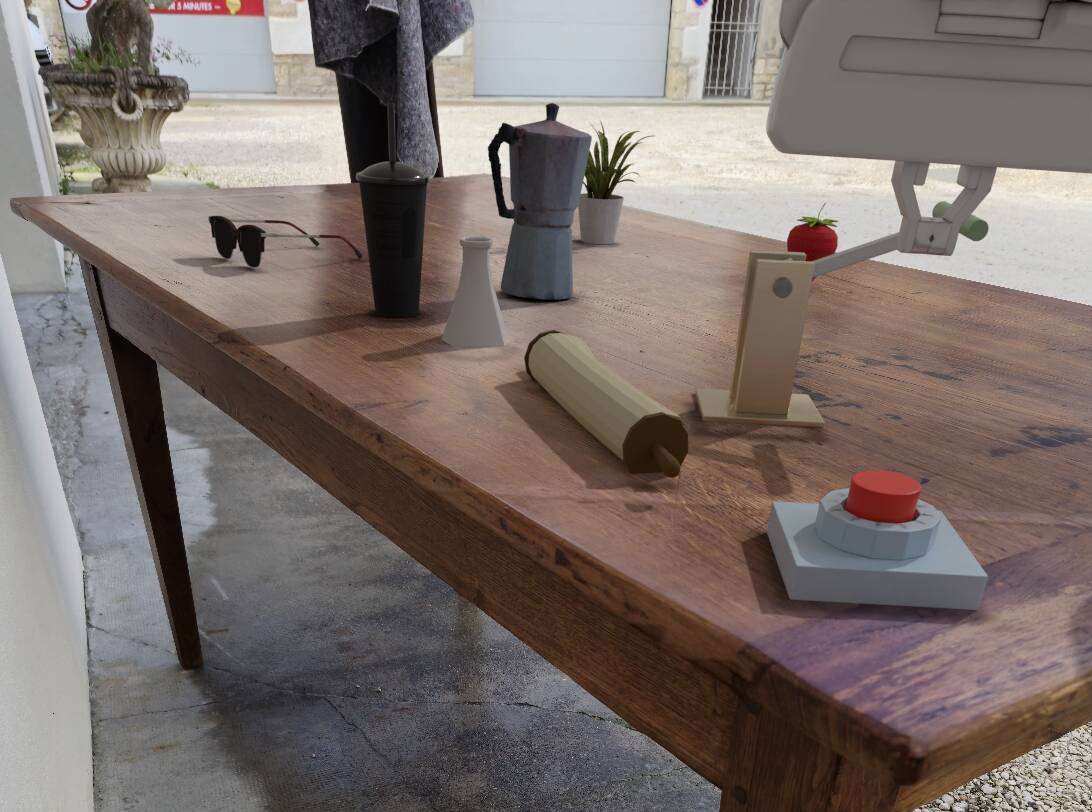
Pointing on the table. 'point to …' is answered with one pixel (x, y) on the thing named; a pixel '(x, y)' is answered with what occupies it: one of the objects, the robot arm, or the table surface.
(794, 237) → the strawberry
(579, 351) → the rolling pin
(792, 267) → the bracket
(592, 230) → the house plant
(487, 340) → the flask
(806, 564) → the control block
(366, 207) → the drinking cup
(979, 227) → the lever
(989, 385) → the table surface
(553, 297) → the moka pot
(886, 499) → the button
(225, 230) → the sunglasses
